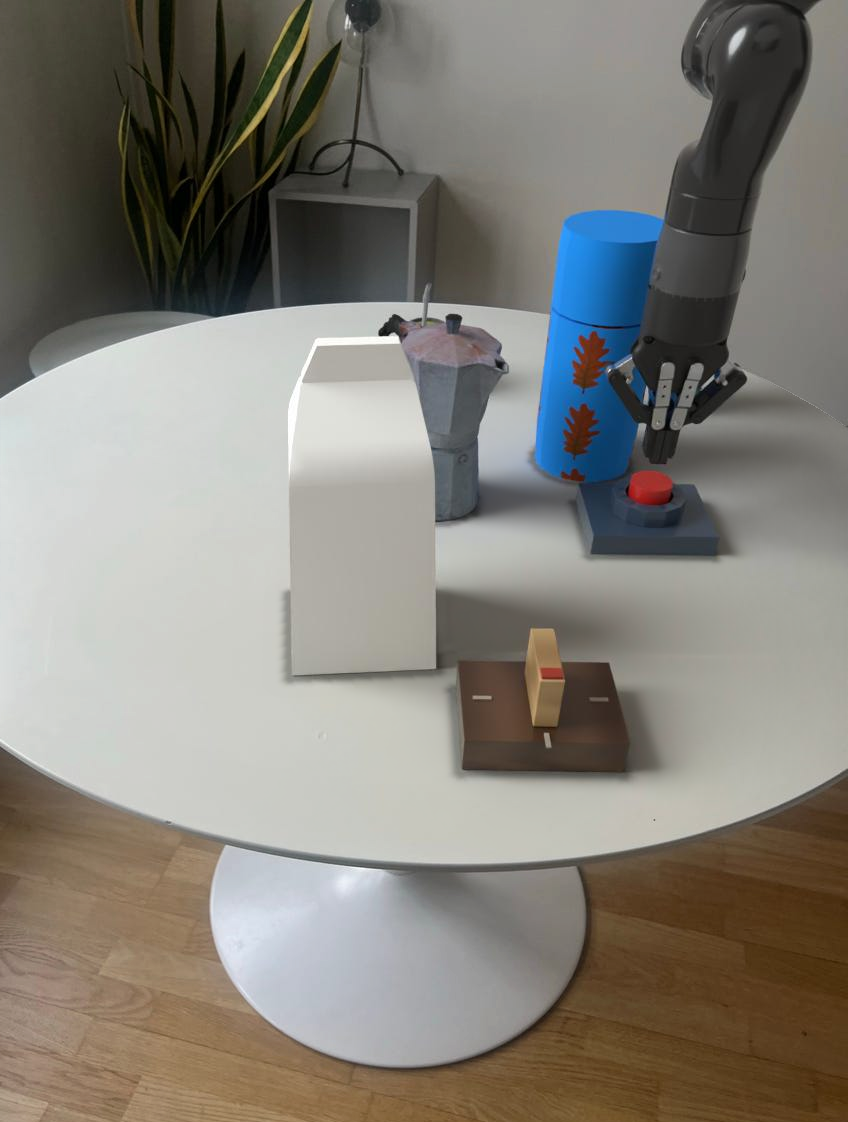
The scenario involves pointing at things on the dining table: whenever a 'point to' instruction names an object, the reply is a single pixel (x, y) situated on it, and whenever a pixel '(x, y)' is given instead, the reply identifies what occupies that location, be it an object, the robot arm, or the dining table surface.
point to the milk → (360, 512)
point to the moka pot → (451, 400)
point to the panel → (515, 744)
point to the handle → (544, 677)
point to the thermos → (593, 343)
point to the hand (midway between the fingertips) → (655, 460)
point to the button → (650, 488)
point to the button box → (644, 521)
